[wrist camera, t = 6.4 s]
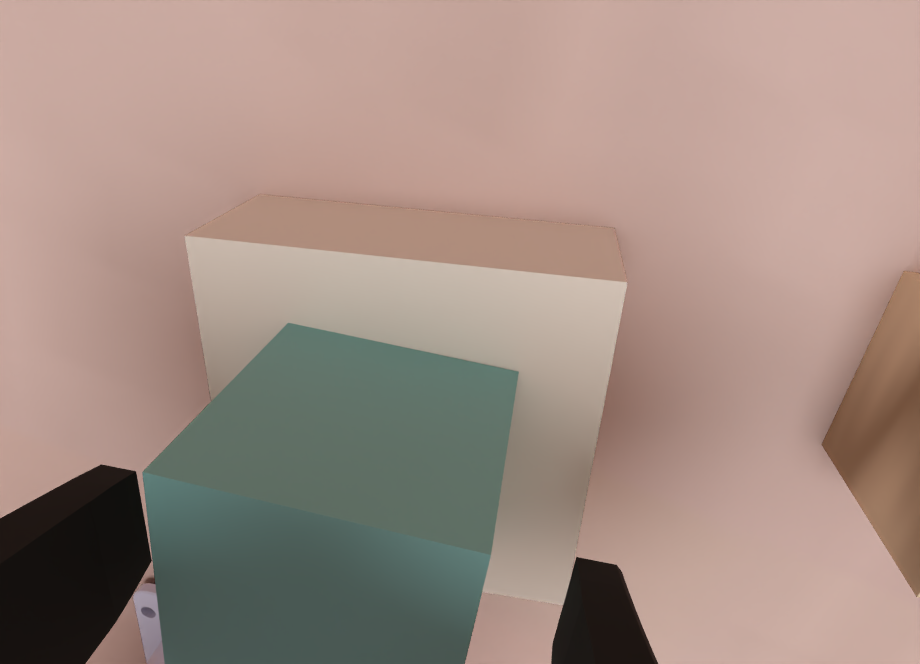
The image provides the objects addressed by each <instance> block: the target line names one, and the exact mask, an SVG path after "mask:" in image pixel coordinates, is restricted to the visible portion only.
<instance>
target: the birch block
mask: <svg viewBox="0 0 920 664" xmlns="http://www.w3.org/2000/svg"><path fill="white" fill-rule="evenodd" d="M822 446H823V448H824V449H825V451H826V452H827V454H828V456H829V457H830V459H831V460H832V462H833V464H834V465H835V467H836V468H837V470H838V472H839V473H840V475H841V476H842V478H843V480H844V481H845V483H846V484H847V486H848V488H849V489H850V491H851V492H852V494H853V496H854V497H855V499H856V500H857V502H858V504H859V505H860V507H861V508H862V510H863V512H864V513H865V515H866V516H867V518H868V520H869V521H870V523H871V524H872V526H873V528H874V529H875V531H876V532H877V534H878V536H879V537H880V539H881V540H882V542H883V544H884V545H885V547H886V548H887V550H888V552H889V553H890V555H891V556H892V558H893V560H894V561H895V563H896V564H897V566H898V568H899V569H900V571H901V572H902V574H903V576H904V577H905V579H906V580H907V582H908V584H909V585H910V587H911V588H912V590H913V592H914V593H915V595H916V597H919V598H920V273H914V272H907V271H904V272H903V274H902V276H901V278H900V280H899V282H898V284H897V287H896V289H895V291H894V293H893V295H892V297H891V299H890V301H889V303H888V306H887V308H886V310H885V312H884V314H883V316H882V318H881V320H880V323H879V325H878V327H877V329H876V331H875V333H874V335H873V337H872V339H871V342H870V344H869V346H868V348H867V350H866V352H865V354H864V356H863V358H862V361H861V363H860V365H859V367H858V369H857V371H856V373H855V375H854V377H853V380H852V382H851V384H850V386H849V388H848V390H847V392H846V394H845V396H844V399H843V401H842V403H841V405H840V407H839V409H838V411H837V413H836V415H835V418H834V420H833V422H832V424H831V426H830V428H829V430H828V432H827V434H826V437H825V439H824V441H823V443H822Z"/></svg>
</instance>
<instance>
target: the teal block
mask: <svg viewBox="0 0 920 664" xmlns="http://www.w3.org/2000/svg"><path fill="white" fill-rule="evenodd" d="M518 374H519V372H518V371H513V370H508V369H504V368H499V367H494V366H490V365H485V364H480V363H476V362H471V361H466V360H462V359H457V358H452V357H448V356H443V355H438V354H434V353H429V352H424V351H419V350H415V349H410V348H405V347H401V346H396V345H391V344H387V343H382V342H377V341H373V340H368V339H363V338H359V337H354V336H349V335H345V334H340V333H335V332H330V331H326V330H321V329H316V328H311V327H306V326H302V325H297V324H292V323H287V324H286V325H285V326H284V327H283V329H282V330H281V331H280V332H279V333H278V334H277V335H276V336H275V337H274V338H273V339H272V340H271V341H270V342H269V343H268V344H267V345H266V346H265V347H264V348H263V349H262V350H261V351H260V352H259V353H258V354H257V355H256V356H255V357H254V358H253V359H252V360H251V361H250V362H249V363H248V364H247V365H246V366H245V367H244V368H243V370H242V371H241V372H240V373H239V374H238V375H237V376H236V377H235V378H234V379H233V380H232V381H231V382H230V383H229V384H228V385H227V386H226V387H225V388H224V389H223V390H222V391H221V392H220V393H219V394H218V395H217V396H216V397H215V398H214V399H213V400H212V401H211V402H210V403H209V404H208V405H207V406H206V407H205V408H204V410H203V411H202V412H201V413H200V414H199V415H198V416H197V417H196V418H195V419H194V420H193V421H192V422H191V423H190V424H189V425H188V426H187V427H186V428H185V429H184V430H183V431H182V432H181V433H180V434H179V435H178V436H177V437H176V438H175V439H174V440H173V441H172V442H171V443H170V444H169V445H168V446H167V447H166V448H165V449H164V451H163V452H162V453H161V454H160V455H159V456H158V457H157V458H156V459H155V460H154V461H153V462H152V463H151V464H150V465H149V466H148V467H147V468H146V469H145V470H144V471H143V472H142V473H143V482H144V490H145V499H146V508H147V516H148V525H149V533H150V542H151V551H152V559H153V568H154V577H155V585H156V594H157V602H158V611H159V620H160V628H161V637H162V645H163V654H164V663H165V664H465V660H466V656H467V652H468V648H469V644H470V640H471V636H472V631H473V627H474V623H475V619H476V615H477V611H478V607H479V603H480V598H481V594H482V590H483V586H484V582H485V578H486V574H487V570H488V565H489V561H490V557H491V552H492V545H493V539H494V532H495V525H496V519H497V512H498V506H499V499H500V493H501V486H502V479H503V473H504V466H505V460H506V453H507V446H508V440H509V433H510V427H511V420H512V413H513V407H514V400H515V394H516V387H517V381H518Z"/></svg>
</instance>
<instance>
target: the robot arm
mask: <svg viewBox="0 0 920 664" xmlns="http://www.w3.org/2000/svg"><path fill="white" fill-rule="evenodd" d="M151 561H152V560H151V555H150V549H149V543H148V537H147V532H146V526H145V520H144V515H143V509H142V503H141V497H140V492H139V486H138V480H137V474H136V471H131V470H126V469H121V468H116V467H111V466H106V465H100V466H98V467H96V468H94V469H92V470H90V471H88V472H85V473H84V474H82V475H80V476H78V477H76V478H74V479H72V480H70V481H68V482H66V483H65V484H63V485H61V486H59V487H57V488H55V489H53V490H52V491H50V492H48V493H46V494H44V495H42V496H41V497H39V498H37V499H35V500H33V501H31V502H30V503H28V504H26V505H24V506H22V507H20V508H19V509H17V510H15V511H13V512H11V513H9V514H8V515H6V516H4V517H2V518H0V664H85V663H86V662H87V660H88V659H89V658H90V656H91V655H92V654H93V652H94V651H95V650H96V648H97V647H98V646H99V644H100V643H101V642H102V640H103V639H104V638H105V636H106V635H107V633H108V632H109V631H110V629H111V628H112V627H113V625H114V624H115V622H116V621H117V619H118V618H119V616H120V614H121V613H122V611H123V609H124V608H125V606H126V605H127V603H128V601H129V600H130V598H131V596H132V595H133V593H134V591H135V589H136V588H137V586H138V584H139V582H140V580H141V579H142V577H143V575H144V573H145V572H146V570H147V568H148V566H149V564H150V563H151ZM133 599H134V604H135V609H136V614H137V619H138V624H139V629H140V634H141V638H142V643H143V648H144V653H145V658H146V664H165V663H164V654H163V645H162V637H161V628H160V620H159V611H158V602H157V594H156V585H155V584H152V583H145V584H142V585H141V586H140V587H139V588H138V589H137V591H136V592H135V593H134V596H133ZM551 664H658V662H657V660H656V658H655V656H654V653H653V651H652V648H651V646H650V644H649V641H648V639H647V637H646V634H645V632H644V629H643V627H642V625H641V622H640V620H639V617H638V615H637V612H636V609H635V607H634V604H633V602H632V599H631V596H630V594H629V591H628V588H627V585H626V583H625V580H624V577H623V574H622V572H621V570H620V569H619V568H618V566H617V565H614V564H609V563H604V562H599V561H594V560H588V559H583V558H578V557H576V561H575V565H574V568H573V572H572V575H571V579H570V583H569V586H568V590H567V594H566V597H565V601H564V604H563V608H562V612H561V615H560V619H559V623H558V626H557V630H556V633H555V637H554V641H553V646H552V662H551Z"/></svg>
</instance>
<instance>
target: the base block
mask: <svg viewBox="0 0 920 664" xmlns="http://www.w3.org/2000/svg"><path fill="white" fill-rule="evenodd" d="M185 242H186V248H187V255H188V261H189V267H190V274H191V280H192V286H193V292H194V299H195V305H196V311H197V317H198V324H199V330H200V336H201V342H202V349H203V355H204V361H205V368H206V374H207V380H208V386H209V393H210V399H211V401H212V400H213V399H214V398H215V397H216V396H217V395H218V394H219V393H220V392H221V391H222V390H223V389H224V388H225V387H226V386H227V385H228V384H229V383H230V382H231V381H232V380H233V379H234V378H235V377H236V376H237V375H238V374H239V373H240V372H241V371H242V370H243V368H244V367H245V366H246V365H247V364H248V363H249V362H250V361H251V360H252V359H253V358H254V357H255V356H256V355H257V354H258V353H259V352H260V351H261V350H262V349H263V348H264V347H265V346H266V345H267V344H268V343H269V342H270V341H271V340H272V339H273V338H274V337H275V336H276V335H277V334H278V333H279V332H280V331H281V330H282V329H283V327H284V326H285V325H286V324H287V323H292V324H297V325H302V326H306V327H311V328H316V329H321V330H326V331H330V332H335V333H340V334H345V335H349V336H354V337H359V338H363V339H368V340H373V341H377V342H382V343H387V344H391V345H396V346H401V347H405V348H410V349H415V350H419V351H424V352H429V353H434V354H438V355H443V356H448V357H452V358H457V359H462V360H466V361H471V362H476V363H480V364H485V365H490V366H494V367H499V368H504V369H508V370H513V371H518V372H519V374H518V381H517V387H516V394H515V400H514V407H513V413H512V420H511V427H510V433H509V440H508V446H507V453H506V460H505V466H504V473H503V479H502V486H501V493H500V499H499V506H498V512H497V519H496V525H495V532H494V539H493V545H492V552H491V557H490V561H489V565H488V570H487V574H486V578H485V582H484V586H483V590H482V592H484V593H490V594H496V595H502V596H508V597H514V598H520V599H526V600H532V601H538V602H544V603H550V604H556V605H562V606H563V604H564V601H565V597H566V594H567V590H568V586H569V583H570V579H571V574H572V568H573V563H574V558H575V553H576V548H577V542H578V537H579V532H580V527H581V522H582V516H583V511H584V506H585V501H586V496H587V491H588V485H589V480H590V475H591V470H592V465H593V459H594V454H595V449H596V444H597V439H598V433H599V428H600V423H601V418H602V413H603V408H604V402H605V397H606V392H607V387H608V382H609V376H610V371H611V366H612V361H613V356H614V351H615V345H616V340H617V335H618V330H619V325H620V319H621V314H622V309H623V304H624V299H625V293H626V288H627V283H628V282H627V278H626V274H625V270H624V265H623V261H622V257H621V253H620V249H619V245H618V241H617V237H616V232H615V228H610V227H600V226H589V225H579V224H568V223H558V222H547V221H537V220H526V219H515V218H505V217H494V216H484V215H473V214H463V213H452V212H441V211H431V210H420V209H410V208H399V207H389V206H378V205H368V204H357V203H346V202H336V201H325V200H315V199H304V198H294V197H283V196H273V195H262V194H259V195H258V196H256V197H254V198H252V199H250V200H248V201H247V202H245V203H243V204H241V205H239V206H238V207H236V208H234V209H232V210H230V211H228V212H227V213H225V214H223V215H221V216H219V217H218V218H216V219H214V220H212V221H210V222H208V223H207V224H205V225H203V226H201V227H199V228H198V229H196V230H194V231H192V232H190V233H188V234H187V235H185Z"/></svg>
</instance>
